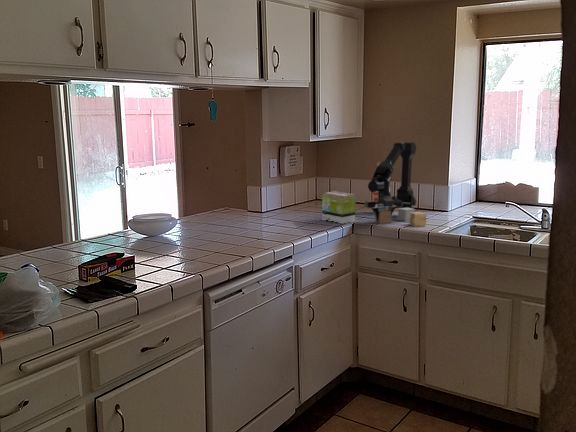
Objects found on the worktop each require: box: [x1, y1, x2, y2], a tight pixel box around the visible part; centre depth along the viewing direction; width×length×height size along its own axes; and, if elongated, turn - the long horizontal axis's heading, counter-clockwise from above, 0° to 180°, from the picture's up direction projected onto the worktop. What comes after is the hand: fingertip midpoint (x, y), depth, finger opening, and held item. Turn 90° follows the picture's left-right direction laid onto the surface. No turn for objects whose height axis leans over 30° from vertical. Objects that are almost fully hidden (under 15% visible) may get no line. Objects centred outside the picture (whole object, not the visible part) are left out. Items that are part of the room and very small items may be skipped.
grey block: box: [397, 207, 416, 222], centre depth 303 cm, size 6×6×6 cm
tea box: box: [321, 190, 357, 225], centre depth 300 cm, size 15×10×15 cm, turn 42°
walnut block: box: [375, 210, 392, 224], centre depth 297 cm, size 6×6×6 cm
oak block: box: [409, 211, 427, 227], centre depth 289 cm, size 6×6×6 cm
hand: (383, 220), depth 297 cm, fingers closed on walnut block, 6 cm apart
